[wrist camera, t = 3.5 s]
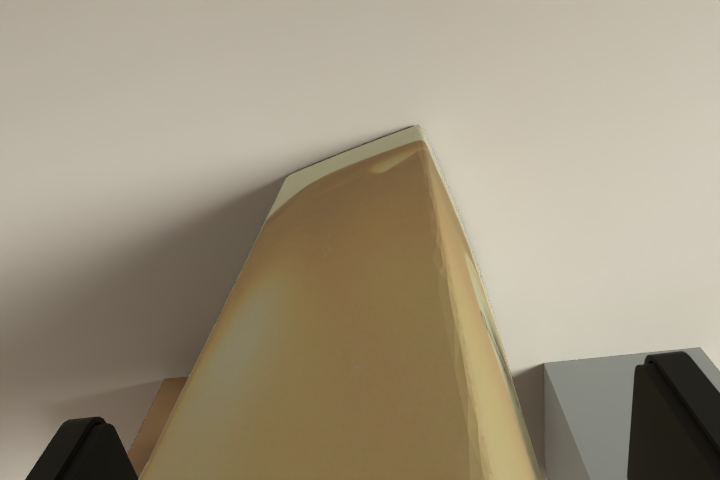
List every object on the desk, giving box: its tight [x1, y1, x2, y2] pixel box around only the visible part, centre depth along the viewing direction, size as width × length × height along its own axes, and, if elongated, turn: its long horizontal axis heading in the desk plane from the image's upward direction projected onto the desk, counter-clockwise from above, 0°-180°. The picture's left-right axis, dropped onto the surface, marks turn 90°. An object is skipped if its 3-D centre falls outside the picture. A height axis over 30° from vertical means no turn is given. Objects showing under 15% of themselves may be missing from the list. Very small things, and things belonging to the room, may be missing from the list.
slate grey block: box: [544, 347, 720, 480], centre depth 17 cm, size 5×5×5 cm
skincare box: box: [138, 125, 542, 480], centre depth 11 cm, size 6×4×12 cm
